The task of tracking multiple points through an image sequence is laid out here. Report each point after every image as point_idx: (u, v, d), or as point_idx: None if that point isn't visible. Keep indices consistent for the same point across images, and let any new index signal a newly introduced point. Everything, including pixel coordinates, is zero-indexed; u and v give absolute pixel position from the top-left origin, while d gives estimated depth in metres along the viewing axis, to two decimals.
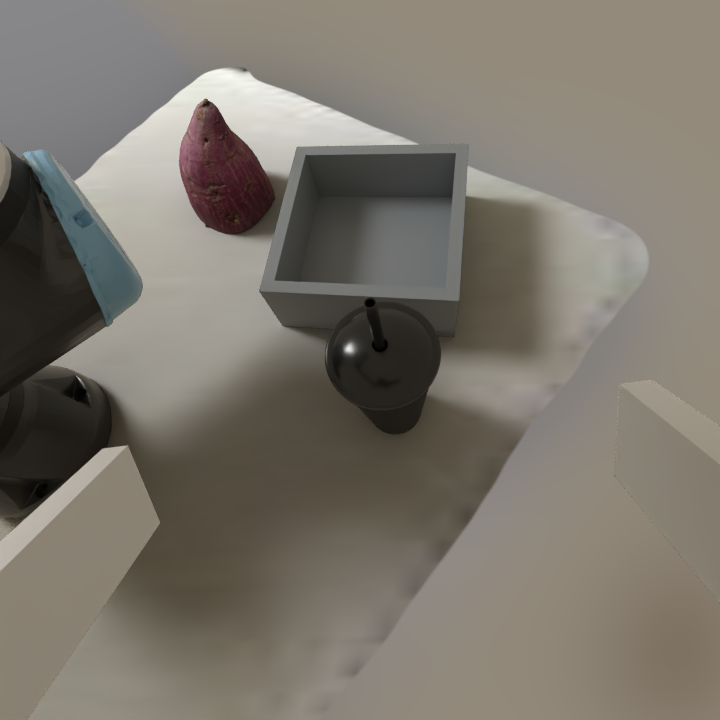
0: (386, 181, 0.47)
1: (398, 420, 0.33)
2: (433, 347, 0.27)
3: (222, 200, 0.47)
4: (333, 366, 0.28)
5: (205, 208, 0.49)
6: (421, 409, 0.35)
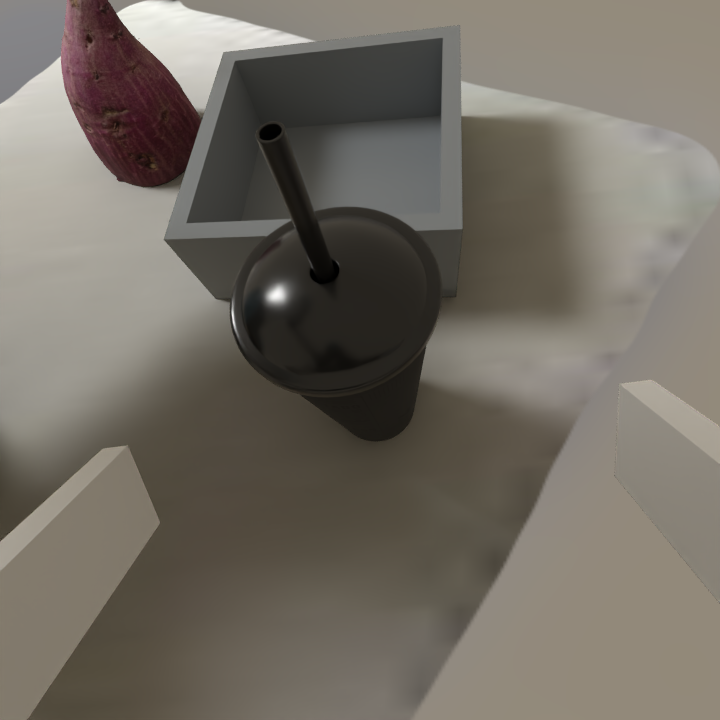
0: (350, 96, 0.34)
1: (376, 418, 0.20)
2: (426, 275, 0.15)
3: (128, 134, 0.35)
4: (243, 321, 0.15)
5: (107, 149, 0.36)
6: (414, 400, 0.23)
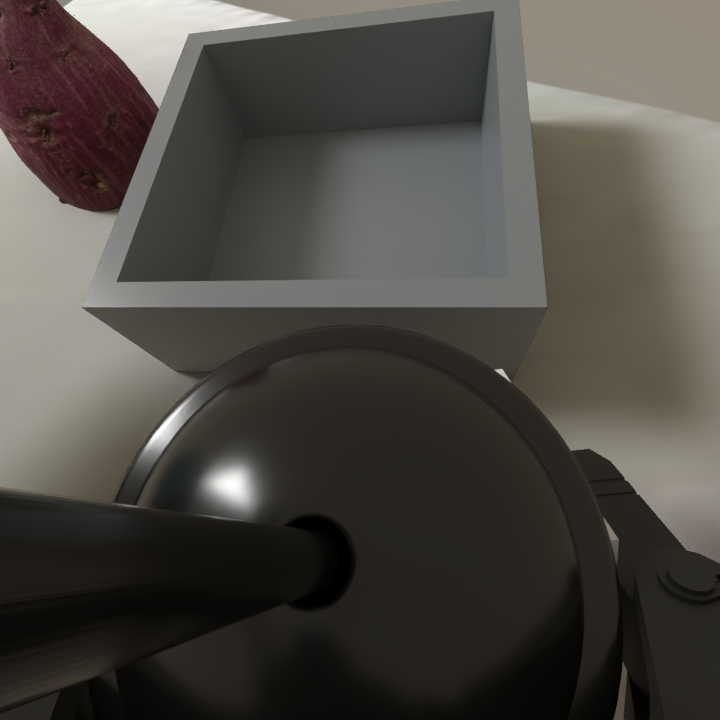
0: (360, 94, 0.26)
1: None
2: (575, 541, 0.06)
3: (62, 145, 0.26)
4: None
5: (39, 164, 0.27)
6: None
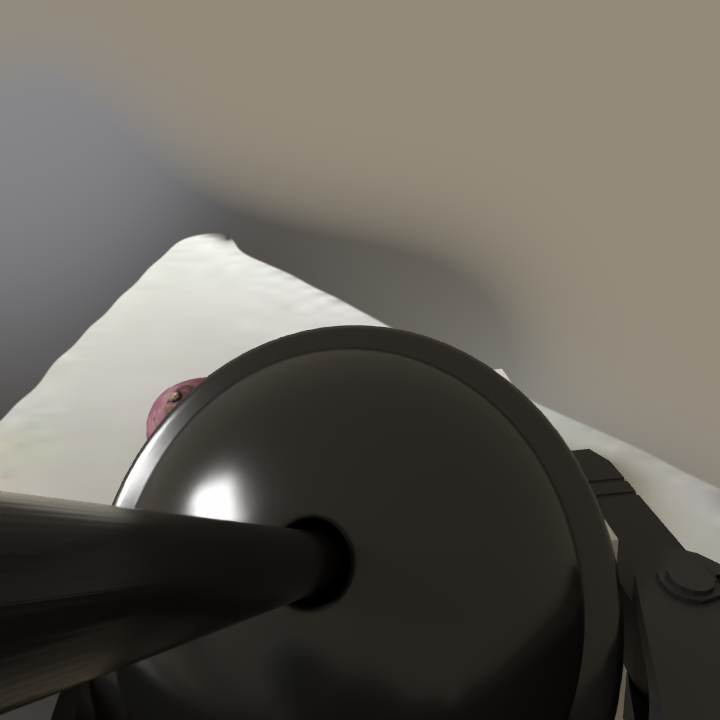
0: None
1: None
2: (576, 541, 0.06)
3: None
4: None
5: None
6: None
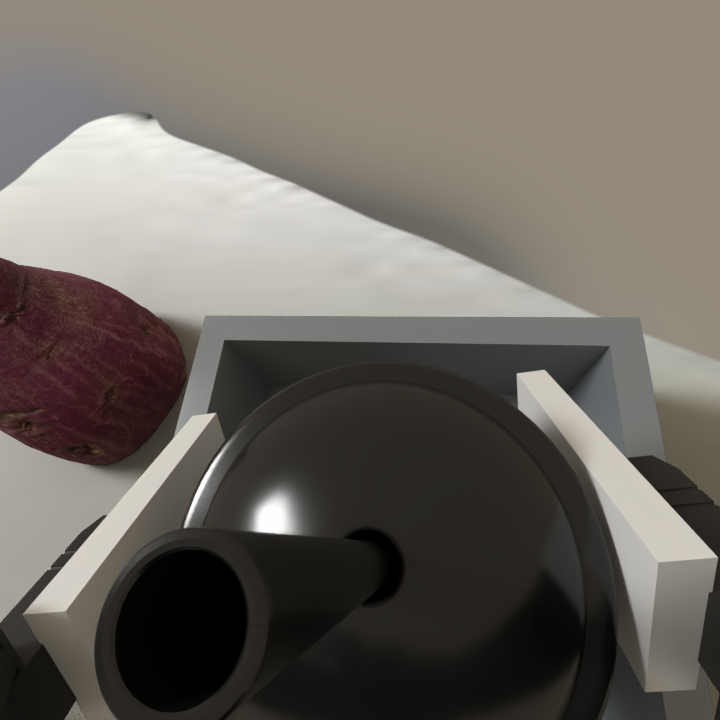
0: None
1: None
2: (577, 542, 0.07)
3: (47, 433, 0.21)
4: None
5: None
6: None
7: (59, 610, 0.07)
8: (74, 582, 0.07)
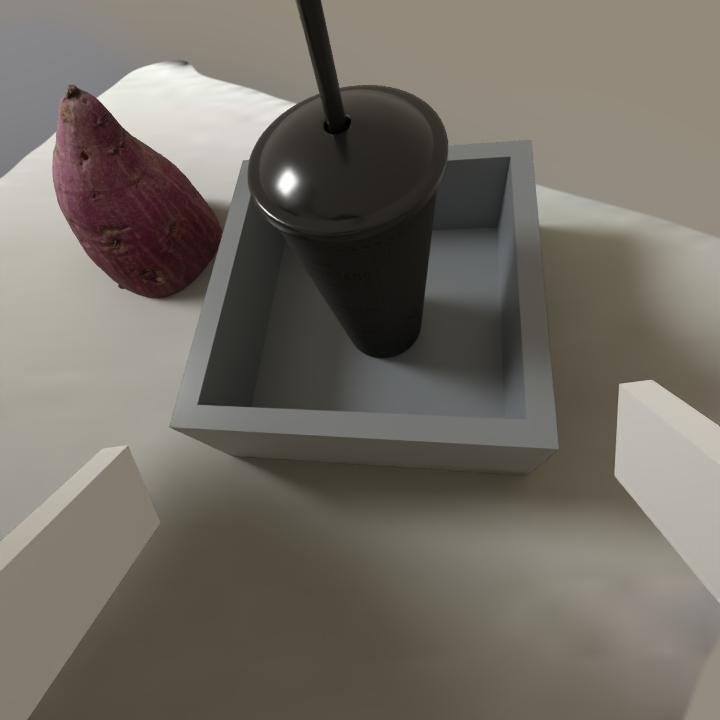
0: None
1: (386, 306, 0.20)
2: (433, 132, 0.15)
3: (130, 252, 0.30)
4: (260, 182, 0.16)
5: (107, 264, 0.31)
6: (421, 303, 0.23)
7: None
8: None
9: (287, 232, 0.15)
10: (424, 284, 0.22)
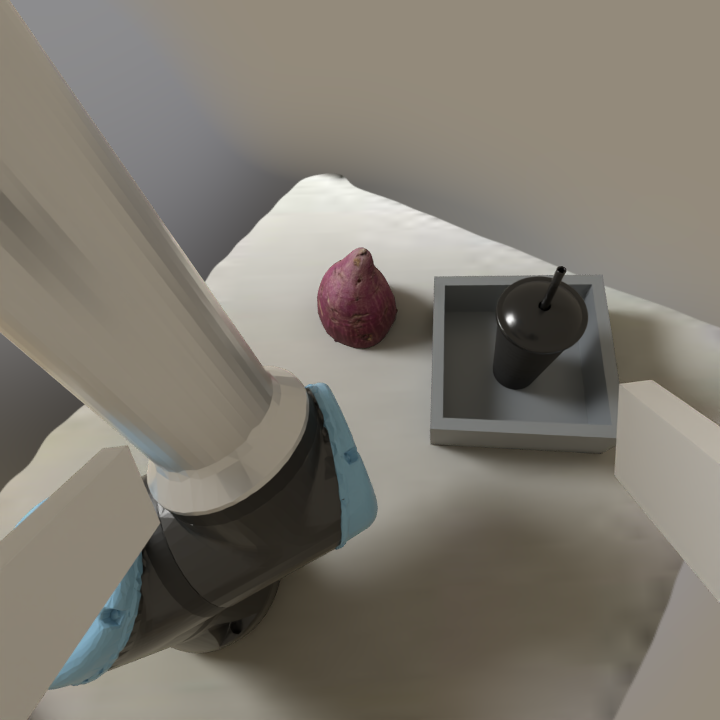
0: None
1: (540, 370, 0.42)
2: (581, 306, 0.37)
3: (363, 326, 0.51)
4: (507, 325, 0.37)
5: (343, 331, 0.52)
6: None
7: None
8: None
9: (522, 348, 0.37)
10: None
